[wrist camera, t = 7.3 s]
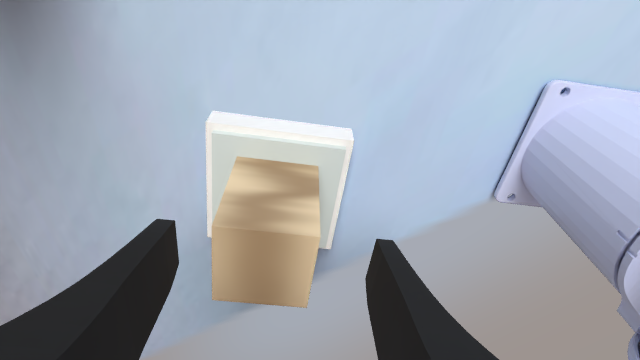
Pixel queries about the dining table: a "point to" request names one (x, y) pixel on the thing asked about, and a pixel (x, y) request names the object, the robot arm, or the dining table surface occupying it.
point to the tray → (278, 157)
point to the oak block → (266, 233)
